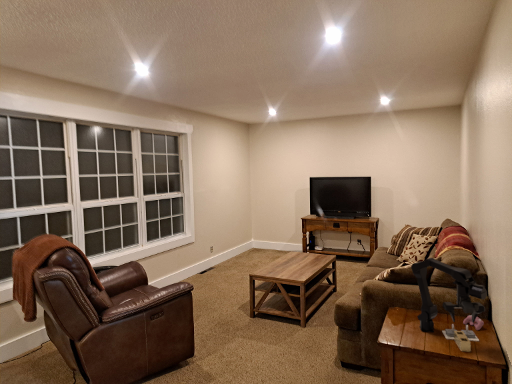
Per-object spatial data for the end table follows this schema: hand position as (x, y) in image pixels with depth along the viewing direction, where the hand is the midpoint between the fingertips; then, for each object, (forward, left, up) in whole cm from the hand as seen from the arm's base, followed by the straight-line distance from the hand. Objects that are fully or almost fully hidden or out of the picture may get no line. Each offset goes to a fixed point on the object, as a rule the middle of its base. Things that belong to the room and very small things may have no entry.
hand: (463, 322), depth 183 cm
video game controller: (+12, +23, -12) cm, 28 cm away
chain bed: (+1, +9, -12) cm, 15 cm away
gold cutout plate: (-1, -1, -12) cm, 12 cm away
